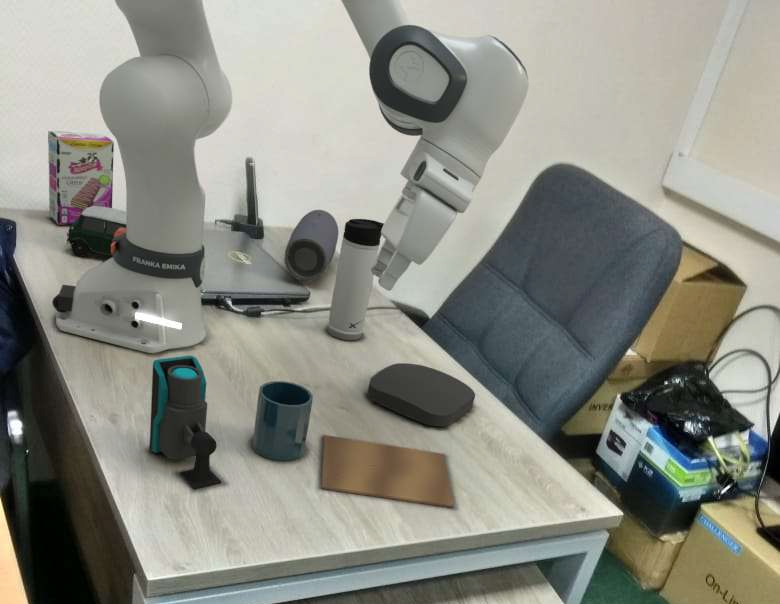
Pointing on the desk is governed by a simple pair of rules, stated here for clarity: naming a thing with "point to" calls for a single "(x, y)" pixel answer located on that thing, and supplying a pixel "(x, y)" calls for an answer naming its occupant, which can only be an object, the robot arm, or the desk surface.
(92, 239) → the miniature car
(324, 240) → the bluetooth speaker
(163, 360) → the surveillance camera
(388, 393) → the media streaming box
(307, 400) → the cup
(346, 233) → the travel mug
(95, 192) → the candy bar box
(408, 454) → the brown flat rectangular board
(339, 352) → the desk surface
